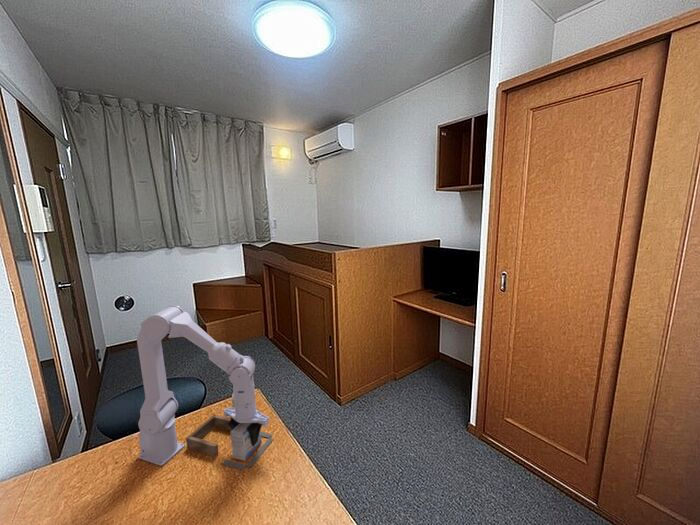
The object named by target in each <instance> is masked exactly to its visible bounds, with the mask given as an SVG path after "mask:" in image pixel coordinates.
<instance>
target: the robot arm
mask: <svg viewBox="0 0 700 525" xmlns="http://www.w3.org/2000/svg"><path fill="white" fill-rule="evenodd" d="M140 327H141V328H140V330H139V333H138V334H137V335H138V336H137V338H136V342H137V351H138V357H139V363H140V364H139V365H140V370H141V376H142V382H143V390H144V391H143V392H144V398H145V399H144V402H143V404H142V405H141V408H140V410H139V413H140V417H139V420H138V428H139V432H138V443H139V450H140V454H139V455H138V456H137V458H138V459H140V460H142V461H146V462H148V463H151V464H154V465H158V466H160V467H161V466H163V465H165V464H166V463H167V462H168V461H170V460H171V459H172V458H173V457H174V456H175V455H176V454H177V453H179V452H180V451H181V450H182V449H183V448H184V447H185V443H182V442H178V436H177V428H176V420H175V419H176V418H175V417H176V415H175V414H176V413H177V410H178V409H179V402H178V400H177V399H176V398H175V395H174V392H173V391H171V390H169V389H168V380H167V374H166V373H167V372H166V367H165V366H166V365H165V360H164V353H163V352H164V351H163V344H162V340H163V339H164V338H165V337H166V336H167V335H168V334H169V335H168V338H169V339H174V338H182V337H183V338H185V339H187V340H188V341H189V342H192V343H193V344H194V345H196V346H197V347H199V348H200V349H202V350H203V351H205V352H207V354H208V359H209V360H210V362H212V363H213V364H215V365H216V366H217V367H218V368H220V369H221V370H222V371H224V372H225V374H228V375H229V376H228V380H229V381H230V383H231V384H232V386H233V387H232V391H234V403H235V408H233V407H231V406H227V408H225V409H224V410H223V417H225V418H228V417H230V419H231V420H230V421H229V422H228V426H230V427H231V429H232V430H233V429H234V428H235V427H236V426H237V425H238V424H239V423H251V424H250V425H249V426H248V427H247V430H248V432H249V435H250V439H251V444H252V446H254V445H255V444H256V443H257V442H258V436H259V432H260V429H262V427H264V428H265V427H267V426H268V425H269V424H270V416H267V415H265V414H264V413H262V412H260V410H257V405H256V390H255V380H254V379H255V378H254V372H255V370H256V363H255V360H254V359H253V357H251V356H248V355H242V354H240V353H239V352H237V350H235V349H233V348H232V345H231V344H229V343H225V342H223V341H221V342H217V341H216V340H215V339H214V338H213V337H212V336H210V335H209V334H208V333H207V332H206V331H205V330H204V329H203V328H201V326H199V324H197V323H196V322H195V321H194V320H193V319H192V318H191V315H190V314H189V312H187V311H184V309H183V308H182V307H181V306H179V305H174V304H173V305H169V306H167V307H165V308H164V309H162V310H160V311H159V312H157V313H155V314H152V315H150V316H148V317H147V318H146V319H144V321H142V322H141V323H140Z"/></svg>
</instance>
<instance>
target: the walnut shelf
mask: <svg viewBox="0 0 700 525" xmlns="http://www.w3.org/2000/svg"><path fill="white" fill-rule="evenodd" d="M230 420H231V418H228V417H224V416H221V415H217V414H213V415H212V416H211V417H209V418H208V419H207V420H206V421H204V422H203V423H202V424H201V425H200V426H199V427H197V428H196V429H195V430H193V432H191V433H190V434H189V435H188V436H186V437H185V442H186V449H187V450H191V451H194V452H197V453H201V454H204V455H206V456H210V457H214V458H217V457H218V456H219V455H220V454H219V446H218V443H215V442H211V441H208V440H205V439H203V438H204V437H206V436H207V435H208V434H209V433H210V432H211V431H212V430H213V429H214V428H218V429H222V430H226V431H230V432H231V431H232V429H231V427H230V426H228V422H229V421H230Z"/></svg>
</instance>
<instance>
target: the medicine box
mask: <svg viewBox="0 0 700 525" xmlns="http://www.w3.org/2000/svg"><path fill="white" fill-rule="evenodd" d="M250 424H251V423H239V424H238V425H237V426H236V427H235V428H234V429H233V430H232V431H230V441H231V450H232V458H233V459H237V460H240V461H244V462H246V461H247V460H248V459H249V457H250V456H251V455H252V453H254V451H255V450H256V449H257V448H258V447H259V446H260V444H261V443H262V437H261V432H262V430H261V429H262V428H261V429H260V432H259V436H258V442H257V443H256V444H255V445H254V446H252V444H251V439H250V435H249V432H248V430H247V427H248V426H249V425H250Z"/></svg>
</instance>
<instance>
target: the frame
mask: <svg viewBox="0 0 700 525" xmlns="http://www.w3.org/2000/svg"><path fill="white" fill-rule="evenodd" d="M272 436H273V434H271V433H269V432H268V433H267V432H264V431H261V438H266V441H265V442H264V443H263V445H262V446H261V447H260V448H259V450H258V451H257V452H256V453H255V454H254V456H253V457H252V458H251V459H250V461H249V462H248V463H247V464H243V463H240V462H236V461H233V460H230V459H227V458H226V459H225V460H224V461H222V463H221V464H222V465H224V466H227V467H230V468H232V469H233V468H234V469H236V470H238V471H239V470H240V471H244V470H245V469H246V468H247V467H248V468H253V466H254V465H255V464H256V463H257V461H258V460H259V459H260V457H261V455H263V453H264V452H265V451H266V450H267V449H268V447H269V446H270V444H271V443H272V442H273V441H274V438H271V437H272Z"/></svg>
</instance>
